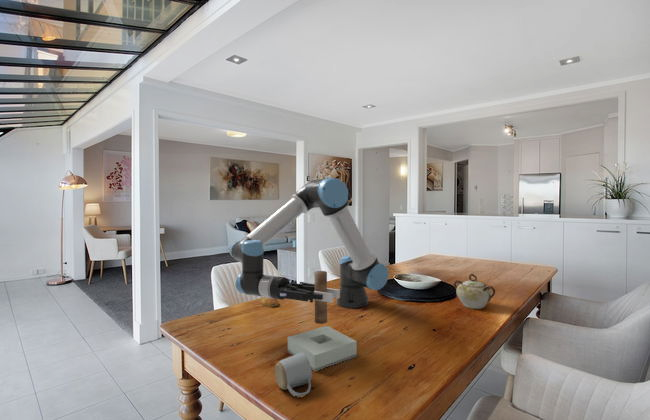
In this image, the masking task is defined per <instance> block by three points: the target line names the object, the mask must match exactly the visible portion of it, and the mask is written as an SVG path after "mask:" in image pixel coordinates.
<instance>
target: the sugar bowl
mask: <svg viewBox="0 0 650 420" xmlns="http://www.w3.org/2000/svg"><path fill="white" fill-rule="evenodd" d="M472 277H473V278H474V279H473V278H472ZM468 278H469V280H466V281H461V280H458V279H457V280H454V283H453V287H454V289H455V291H456V296H457V297H458V299H459V300H460V302H461V303H462V305H463V306H464V307H466V308H468V309H475V310H476V309H477V310H479V309H484V308H485V307H486V305H487V304H488V303H489V302H490V301H491V299H492V298H494V296H495V294H496V289H495V288H494V286H491V285H490V286H488V285H487V284H486V283H483V282H482V281H478V279H477V278H478V277H477V276H476V275H475V274H474V273H470V274H469V277H468Z"/></svg>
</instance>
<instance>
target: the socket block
mask: <svg viewBox="0 0 650 420" xmlns="http://www.w3.org/2000/svg"><path fill="white" fill-rule="evenodd" d="M357 345H358V343H357V340H355V339H353V338H352V337H349V336H348V335H345V334H343V333H342V332H340V331H338V330H336V329H334V328H332V327H330V326H329V325H325V326H322V327H318V328H314V329H311V330H306V331H303V332H300V333H297V334H293V335H289V336H287V353H289V355H291V354H292V355H291V356H294V355H296V354H299V353H304V354H305V355H306V356H307V358H308V360H309V362H310V365H311V369H312V370H313V371H312V372H314V371H317V370H320V369H322V370H324V369H323V368H325V367H328V366H330V367H332V366H331V365H333V366H335V365H334V364H336V365H337V363H338V364H340V363H339V362H341V363H343V362H342V361H344V362H346V361H349V360H351V358H352V359H354V358H357V351H358V349H357V347H358V346H357ZM353 357H354V358H353ZM348 359H349V360H348ZM345 360H346V361H345ZM328 368H329V367H328ZM325 369H326V368H325ZM320 371H321V370H320ZM317 372H318V371H317Z"/></svg>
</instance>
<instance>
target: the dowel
mask: <svg viewBox="0 0 650 420" xmlns="http://www.w3.org/2000/svg"><path fill="white" fill-rule="evenodd" d="M313 275H314V284H315V291H320V292H327V288H328V272H327V271H325V270H317V271H316V270H315V271H314V274H313ZM314 323H315V324H319V325H322V324H323V325H325V324H327V323H328V302H325V301H318V300H314Z"/></svg>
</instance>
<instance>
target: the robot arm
mask: <svg viewBox="0 0 650 420" xmlns="http://www.w3.org/2000/svg"><path fill="white" fill-rule="evenodd" d="M349 204H350V203H349V188H348V187H347V185H346V183H345V182H344V181H343V180H341V179H339V178H336V177H325V178H321V179H319V178H318V179H313V180H311V181H309V182H307V183H306V184H304V185H303V186H302V187H300V188H299V190H297V191H296V192H295V193H293V194H292V195H291V199H290V200H289V201H288V202H286V203H285V204H283V206H282V207H280V208H278V210H277V211H276V212H273V214H272V215H270V216H269V217H268V218H267V219H265V220H264V221H263V222H262V223H261V224H260V225H258V226H257V227H256V228H255V229H254V230H252V231H251V232H250V233H248V234H247V235H246V236H245V237H243V238H242V239H241V240H239V241H235V242H234V243H232V244H231V246H230V247H229V255H230V256H231V257H232V258H233V260H234V261H236V262H239V263H241V264H242V265H241V268H242V271H241V273H239V274H238V275H237V276H236V280H235V288H236V291H237V292H238V293H241V294H245V295H249V296H255V297H262V298H263V297H267V298H268V299H270V298H274V299H277V300H280V301H282V300H285V299H287V300H293V301H294V300H295V301H299V302H300V301H301V302H309V303H314V301H315V300H318V301H325V302H327V303H334V299H336V304H337V305H338V306H339V307H342V308H347V309H359V308H364V307H367V306H368V305H369V297H368V294H367V290H366V289H369V290H373V291H378V290H380V289H382V288H384V286H385V285H386V284H387V282H388V278H389V269H388V267H387V266H386V265H385V264H384V263H380V261H379V259H378V258H377V256H376V254H375V253H372V252H370V249H369V247H368V245H367V244H366V242H365V240H364V238H363V236H362V234H361V232H360V230H359V228H358V226H357V224H356V222H355V220H354V218H353V216H352V214H351V213H350V210H349V208H348V207H349ZM315 208H319V209H320V211H321V213H322V215H323V216H324V217H327V218H329V220H330V222H331V223H332V225H333V227H334V229H335V231H336V233H337V235H338V237H339V239H340V241H341V243H342V244H343V246H344V248H345V250H346V251H347V253H348V255H344V256H342V257H340V261H339V269H340V270H339V272H340V273H339V274H340V275H339V276H340V278H339V281H340V283H339V286H340V288H339V289H338V288H337V289H336V288H329V287H327V292H320V291H315V283H309V282H304V281H299V283H297V282H290V281H289V279H288V278H287V277H284V276H283V277H282V276H275V275H269V274H265V273H264V253H265V252H264V251H265V250H264V246H265V245H267V244H268V243H269V242H270V241H271V240H273V238H275V237H276V236H278V235H279V233H281V232H282V231H283V230H284V229H286V228H287V227H288V226H289V225H290V224H291V223H293V222H294V221H295V220H296V219H297V218H299V216H301V215H302V214H303V213H304V214H307V213H308V212H309V211H310V210H312V209H315Z"/></svg>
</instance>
